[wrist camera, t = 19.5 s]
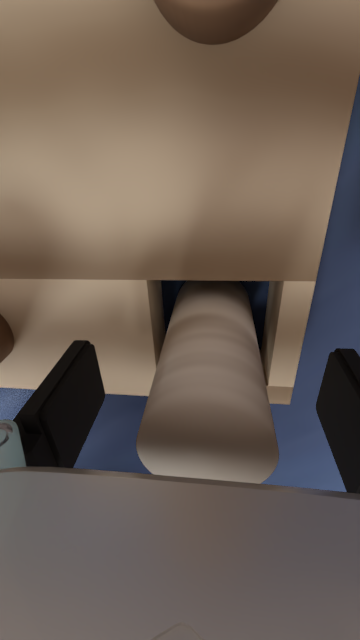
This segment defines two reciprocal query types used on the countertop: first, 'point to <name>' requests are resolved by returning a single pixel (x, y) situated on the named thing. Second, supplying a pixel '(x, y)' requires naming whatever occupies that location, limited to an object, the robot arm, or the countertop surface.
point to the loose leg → (209, 392)
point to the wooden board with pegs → (164, 170)
